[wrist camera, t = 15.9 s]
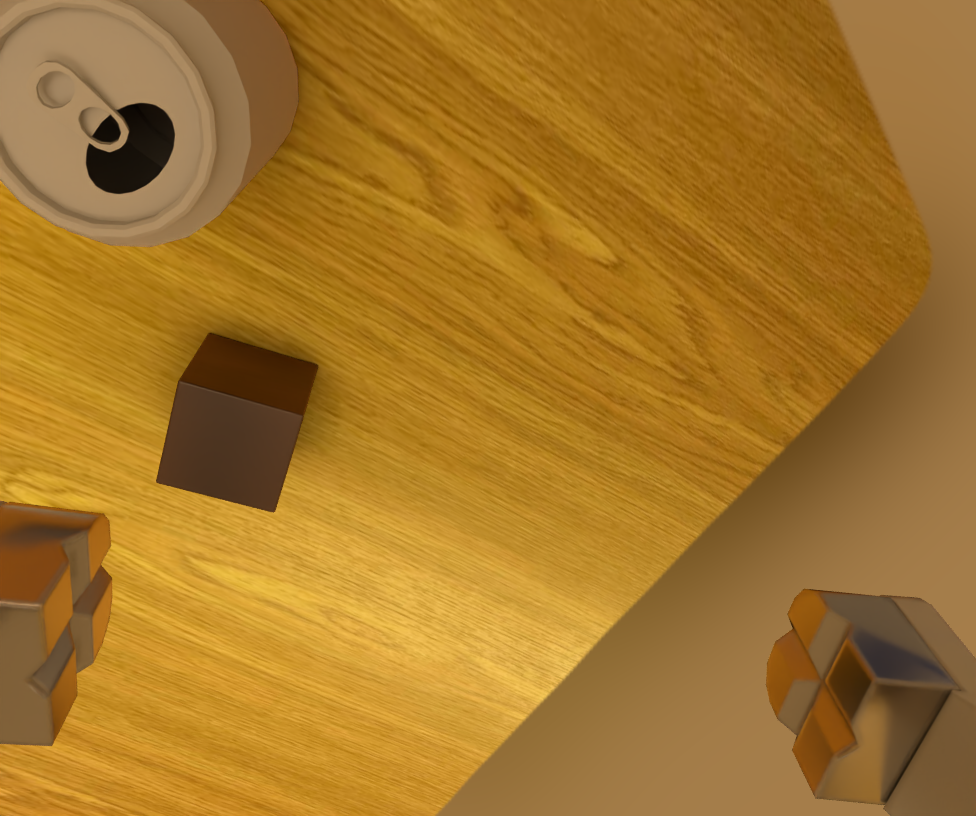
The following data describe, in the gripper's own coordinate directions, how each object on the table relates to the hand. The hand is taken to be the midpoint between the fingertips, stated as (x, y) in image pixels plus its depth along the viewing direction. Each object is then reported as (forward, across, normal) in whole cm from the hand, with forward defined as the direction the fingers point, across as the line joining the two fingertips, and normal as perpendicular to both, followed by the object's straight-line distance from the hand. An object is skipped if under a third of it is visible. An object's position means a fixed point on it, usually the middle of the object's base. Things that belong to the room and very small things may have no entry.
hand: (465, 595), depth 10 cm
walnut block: (+27, +7, +12) cm, 30 cm away
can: (+27, +9, -2) cm, 29 cm away
